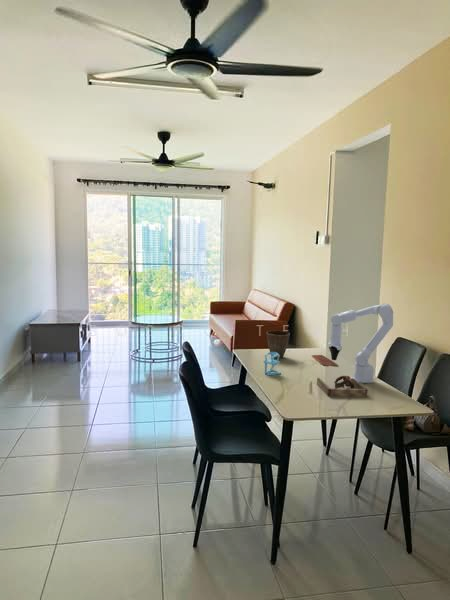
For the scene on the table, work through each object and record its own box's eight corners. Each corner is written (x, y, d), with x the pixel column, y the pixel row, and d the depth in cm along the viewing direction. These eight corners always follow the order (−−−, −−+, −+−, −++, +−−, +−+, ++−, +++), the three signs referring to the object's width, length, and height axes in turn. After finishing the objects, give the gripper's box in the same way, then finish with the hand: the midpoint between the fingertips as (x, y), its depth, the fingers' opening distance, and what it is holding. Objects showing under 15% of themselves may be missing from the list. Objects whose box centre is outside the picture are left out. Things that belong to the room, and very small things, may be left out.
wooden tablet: (339, 367, 245) (339, 364, 245) (323, 367, 244) (323, 364, 244) (323, 355, 272) (324, 353, 271) (309, 355, 270) (309, 353, 270)
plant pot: (264, 359, 255) (265, 334, 253) (266, 353, 270) (267, 329, 268) (288, 361, 253) (289, 336, 251) (288, 355, 267) (290, 331, 265)
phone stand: (261, 373, 226) (262, 352, 224) (271, 370, 231) (272, 350, 230) (271, 376, 220) (272, 355, 219) (281, 373, 226) (282, 353, 224)
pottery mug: (355, 395, 197) (348, 381, 196) (337, 400, 202) (330, 386, 201) (358, 383, 207) (351, 369, 206) (341, 387, 212) (334, 374, 211)
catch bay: (352, 384, 212) (353, 378, 211) (367, 396, 195) (367, 389, 194) (316, 384, 210) (317, 377, 209) (328, 396, 193) (328, 389, 192)
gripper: (324, 332, 229) (322, 356, 231) (333, 338, 215) (331, 363, 216) (336, 333, 230) (334, 356, 231) (346, 338, 215) (344, 363, 217)
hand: (333, 359), depth 224 cm, fingers closed
